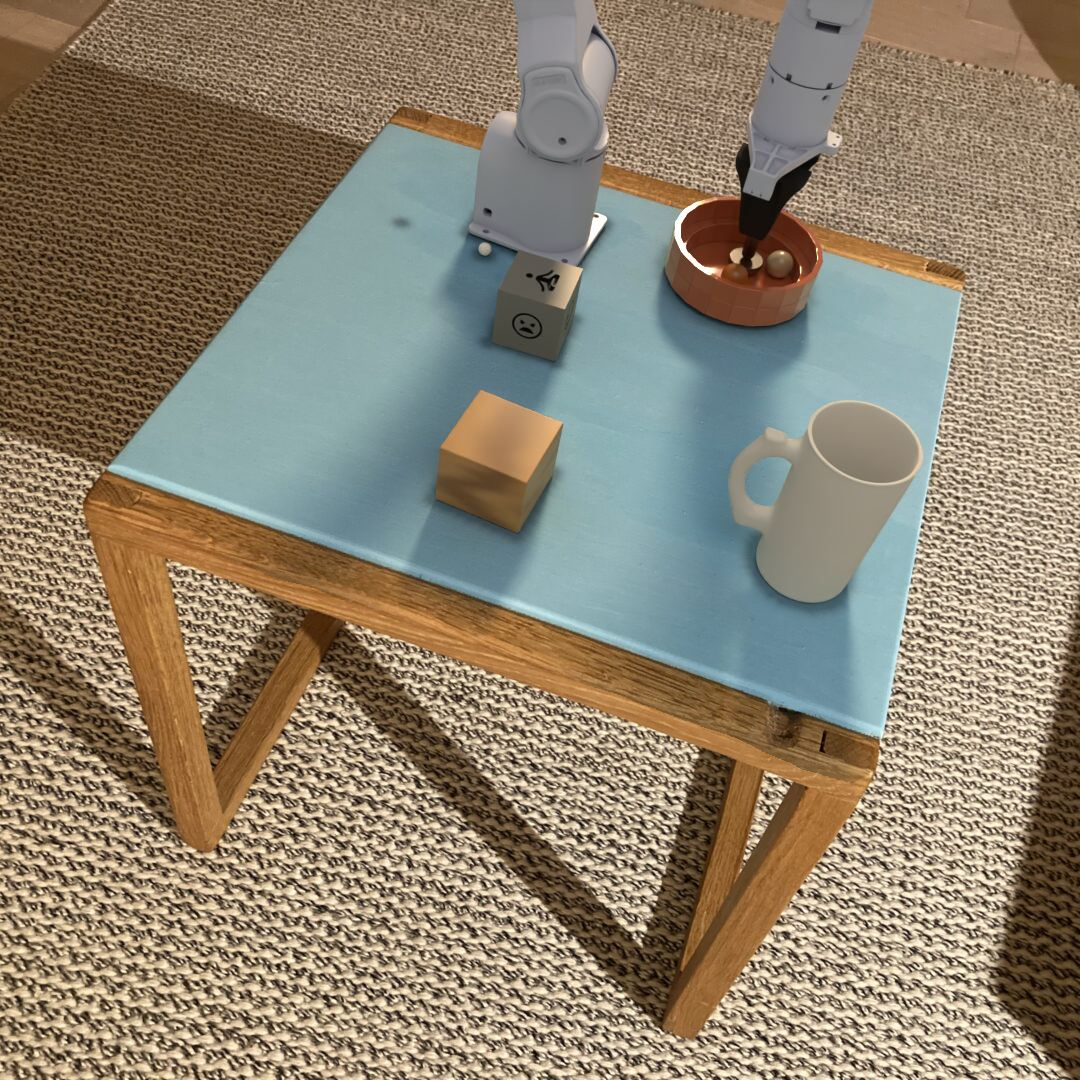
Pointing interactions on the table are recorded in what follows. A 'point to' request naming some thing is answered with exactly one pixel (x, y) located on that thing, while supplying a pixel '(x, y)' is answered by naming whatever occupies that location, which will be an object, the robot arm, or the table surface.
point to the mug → (827, 495)
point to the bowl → (705, 252)
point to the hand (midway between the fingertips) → (754, 229)
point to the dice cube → (536, 305)
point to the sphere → (484, 248)
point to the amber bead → (735, 273)
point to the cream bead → (779, 264)
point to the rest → (498, 460)
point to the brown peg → (747, 256)
